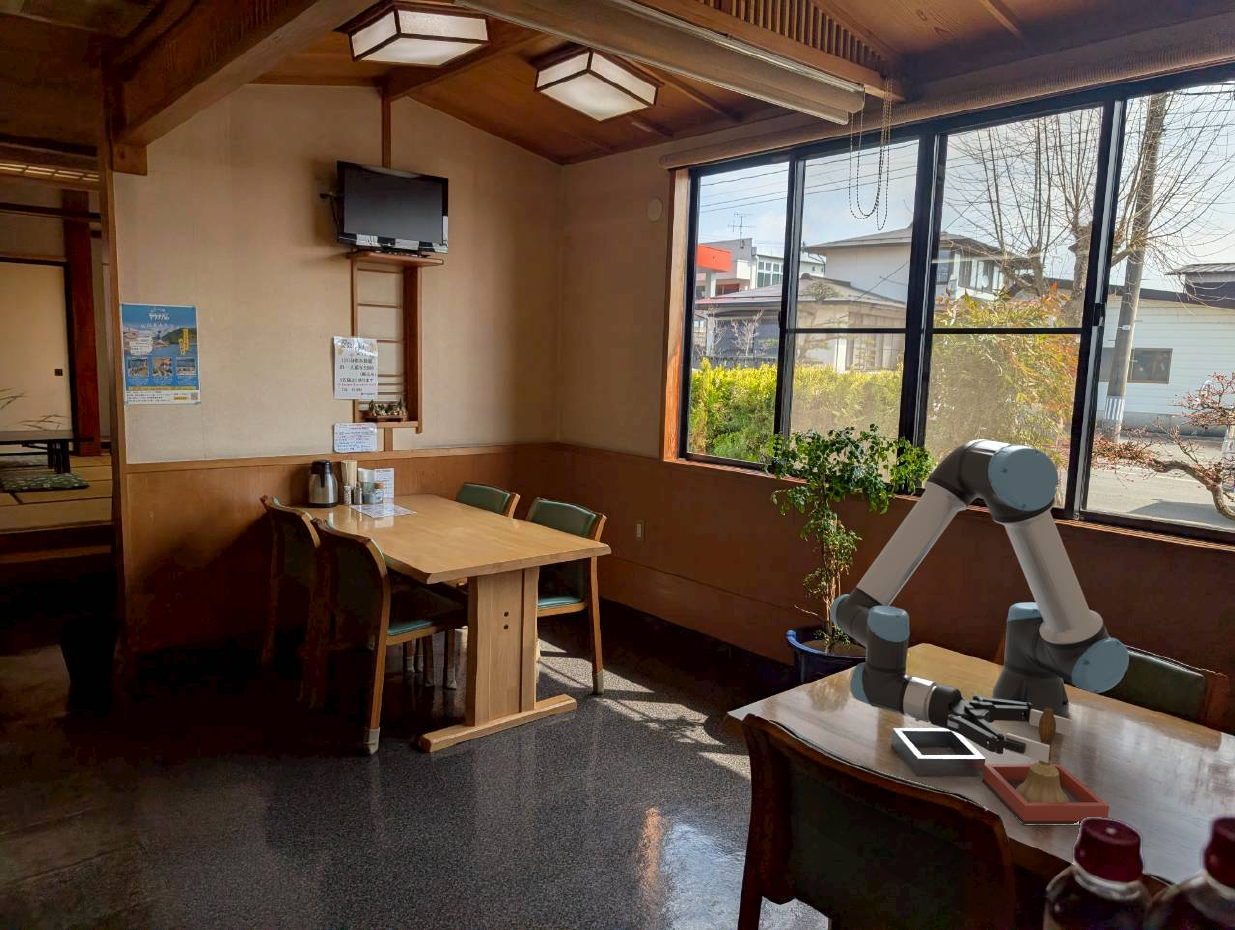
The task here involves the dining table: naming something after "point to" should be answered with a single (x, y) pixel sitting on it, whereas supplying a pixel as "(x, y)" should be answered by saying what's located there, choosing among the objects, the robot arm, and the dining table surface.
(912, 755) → the grey square open box
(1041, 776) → the hand bell
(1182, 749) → the dining table surface
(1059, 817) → the tray
